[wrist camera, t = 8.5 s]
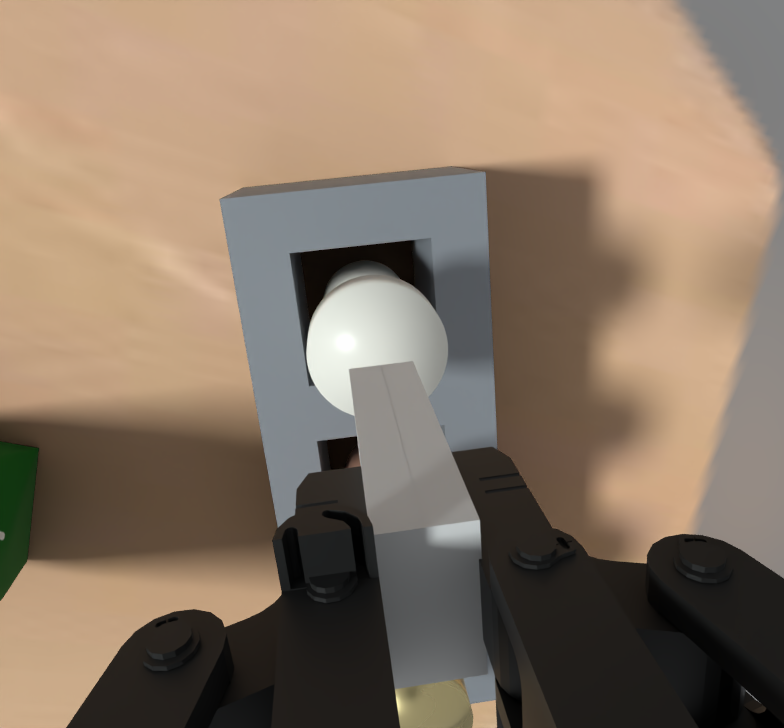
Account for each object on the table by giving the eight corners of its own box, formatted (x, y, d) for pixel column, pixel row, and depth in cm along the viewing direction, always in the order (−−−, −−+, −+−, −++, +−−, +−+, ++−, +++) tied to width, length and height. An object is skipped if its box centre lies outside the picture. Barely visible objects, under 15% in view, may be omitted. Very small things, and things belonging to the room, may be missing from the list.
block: (242, 187, 30) (219, 199, 24) (451, 166, 31) (485, 171, 24) (315, 628, 39) (313, 728, 32) (477, 605, 39) (507, 698, 33)
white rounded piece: (304, 254, 27) (297, 292, 20) (413, 242, 27) (443, 275, 20) (319, 358, 28) (316, 427, 21) (422, 346, 28) (452, 410, 22)
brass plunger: (348, 573, 32) (354, 690, 25) (439, 560, 32) (470, 673, 25) (358, 646, 33) (367, 775, 27) (445, 633, 34) (475, 758, 27)
